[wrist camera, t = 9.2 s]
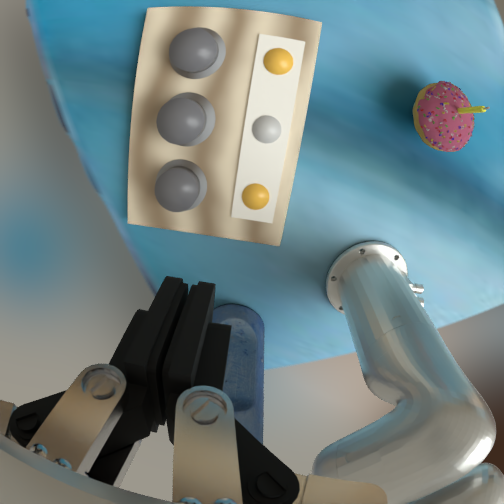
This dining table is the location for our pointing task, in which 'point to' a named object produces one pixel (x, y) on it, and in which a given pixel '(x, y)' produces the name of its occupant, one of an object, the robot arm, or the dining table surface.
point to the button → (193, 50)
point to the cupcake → (444, 116)
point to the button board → (210, 118)
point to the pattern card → (267, 127)
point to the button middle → (181, 120)
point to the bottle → (244, 365)
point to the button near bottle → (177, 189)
